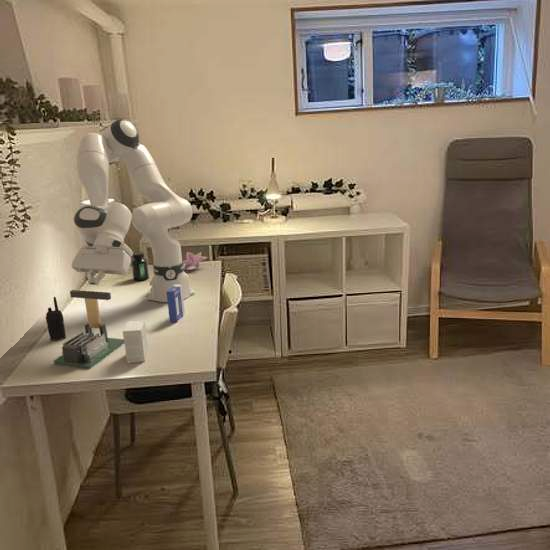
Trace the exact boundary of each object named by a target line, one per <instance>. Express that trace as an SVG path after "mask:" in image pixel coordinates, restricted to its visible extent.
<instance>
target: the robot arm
mask: <svg viewBox="0 0 550 550" xmlns="http://www.w3.org/2000/svg"><path fill="white" fill-rule="evenodd" d="M139 134H140V133H139V131H138V129H137V127H136V125H134V123H133V122H132V121H130V120H128V119H126V118H119V119H117V120H114V121H113V122H112V123H111V124H110V125H109V126H107V127H106V128H105V129H104V130H103V131H102V132H101V133H100V134H99V133H96V132H90V133H86V134H84V135H83V136H82V137H81V139H80V142H79V146H78V150H77V157H76V167H77V168H76V169H77V174H78V177H79V179H80V180H79V181H80V182H81V183H82V186H83V187H84V190H85V192H86V194H87V196H88V200H89V204H90V205H85V206H83V207H81V208H79V209H78V210H77V211H76V213H75V214H74V217H73V222H74V224H75V227H76V228H77V229H78V231H79V232H80V235H81V236H82V237H83V238H84V240H85V243H86V245H85V246H83V247H81V248H80V249H79V250H78V251H77V253H76V255H75V256H74V258H73V260H72V262H71V268H72V269H73V270H74V271H75V272H78V273H87V274H88V277H89V278H88V281H87V283H88V284H89V285H93V286H95V285H96V286H99V284H100V282H101V281H102V279H104V278H105V277H106V275H119V276H124V275H126V274H127V273H128V272H129V269H130V267H131V265H132V264H131V262H132V258H133V254H134V252H133V250H132V249H131V248H130V247H129V245H127V244H126V243H125V237H126V236H127V234H128V232H129V229H130V227H131V222H132V225H133V227H134V228H135V229H136V230H137V231H138V232H139V233H141V234H142V235H143V236H145V237H146V239H147V240H148V242H149V244H150V248H151V252H152V258H153V264H152V269H153V274H154V275H153V277H152V278H151V279H150V280H149V285H150V286H151V288H150V291H149V293H148V296H147V300H149V301H156V302H159V303H168V301H167V291H168V290H169V289H170V288H172V287H173V286H174V285H182V293H183V300H185V299H188V298H189V297H190V296H193V295H195V294H196V291H195V290H194V289H192V288H191V286H190V285H191V284H190V276H189V275H188V274H187V273H186V272H185V270H184V267H185V264H183V261H184V260H183V257H182V248H181V244H180V242H179V241H178V240H177V239H176V238H173V237H171V236H170V235H169V232H168V231H169V229H172V228H176V227H180V226H183V225H184V224H187V223H188V222H190V221H191V219H192V218H193V208H192V205H191V203H190V202H189V201H188V200H187V199H185V198H183V197H181V196H179V195H177V194H176V193H175V192H174V191H173V190H172V189H171V188H170V187H169V186H168V185H167V184H166V182H165V180H164V179H163V177H162V175H161V173H160V170H159V169H158V166H157V164H156V162H155V160H154V157H152V155H151V153H150V151H149V150H148V148H147V147H146V146H145V145H143V144H141V138H140V137H141V136H140V135H139ZM119 159H120V160H122V162H124V164H125V167H126V170H127V173H128V174H129V177H130V180H131V181H132V184H133V186H134V189H135V191H136V193H137V194H138V195H139V196H140V197H143V198H146V199H147V200H149V201H151V202H150V203H145V204H143V205H141V206H137V208H134V210H133V212H131V209H129V207H128V206H126V205H125V204H124V203H121V202H118V201H113V202H111V203H109V174H110V166H111V165H113V164H115V163H116V162H117V161H118V160H119Z"/></svg>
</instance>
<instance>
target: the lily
mask: <svg viewBox="0 0 550 550" xmlns="http://www.w3.org/2000/svg"><path fill="white" fill-rule="evenodd" d="M202 252H203V251H202ZM202 252H198V253H196V254H194V253H192V252H189V251H187V252H186V259H184V260H182V261H183V264H184V271H185V270H187V269H188V268H191V267H192V266H193V267H195V270H196V272H197V273H198V268H200V262H202V261H204V260H206V259H207V260H208V257H207V256H204V255H203V256H202Z"/></svg>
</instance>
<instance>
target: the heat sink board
mask: <svg viewBox="0 0 550 550" xmlns="http://www.w3.org/2000/svg"><path fill="white" fill-rule="evenodd" d="M98 329H99V333H98V332H97V333H96V334H95V333H94V332H93V328H91V327H89V323H88V322H87V323H85V324H84V331H80V332H79V333H77V334H76V335H73V337H71V338H70V339H68V340H66V341H65V342H63V343H62V346H61V349H62V352H61V353H62V355H60V356H59V357H57V358H56V359H54V360H53V363H54V365H56V364H58V365H57V366H65V365H68V366H67V367H73V366H76V367H75V368H81V367H83V369H89V368H90V369H92V368H93V367H94V366H96V365H97V364H98V362H99V361H100V362H102V361H103V360H104V359H105V358H107V357H108V356H110V355H111V354H112V353H113V352H115V351H116V350H118V349H119V348H121V347H122V346H123V345H125V344H124V338H123V339H122V338H113V337H108V332H107V325H106V323H101V326H99V328H98ZM84 332H85V333H84ZM122 344H123V345H122ZM121 345H122V346H121ZM114 350H115V351H114ZM110 353H111V354H110ZM106 356H107V357H106ZM102 359H103V360H102ZM100 362H99V363H100ZM95 364H96V365H95ZM92 366H93V367H92ZM91 367H92V368H91Z"/></svg>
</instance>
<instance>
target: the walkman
mask: <svg viewBox="0 0 550 550" xmlns="http://www.w3.org/2000/svg"><path fill="white" fill-rule="evenodd" d="M167 301H168V302H167V307H168V316H169V322H170V323H178V322H179V321H180V320H181V319H182V318H183V317H184V316H185V315H184V314H186V313H185V305H184V299H183V293H182V285H174V286H173V287H172V288H170V289H169V290H168V291H167ZM180 318H181V319H180ZM179 319H180V320H179ZM178 320H179V321H178ZM177 321H178V322H177Z"/></svg>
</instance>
